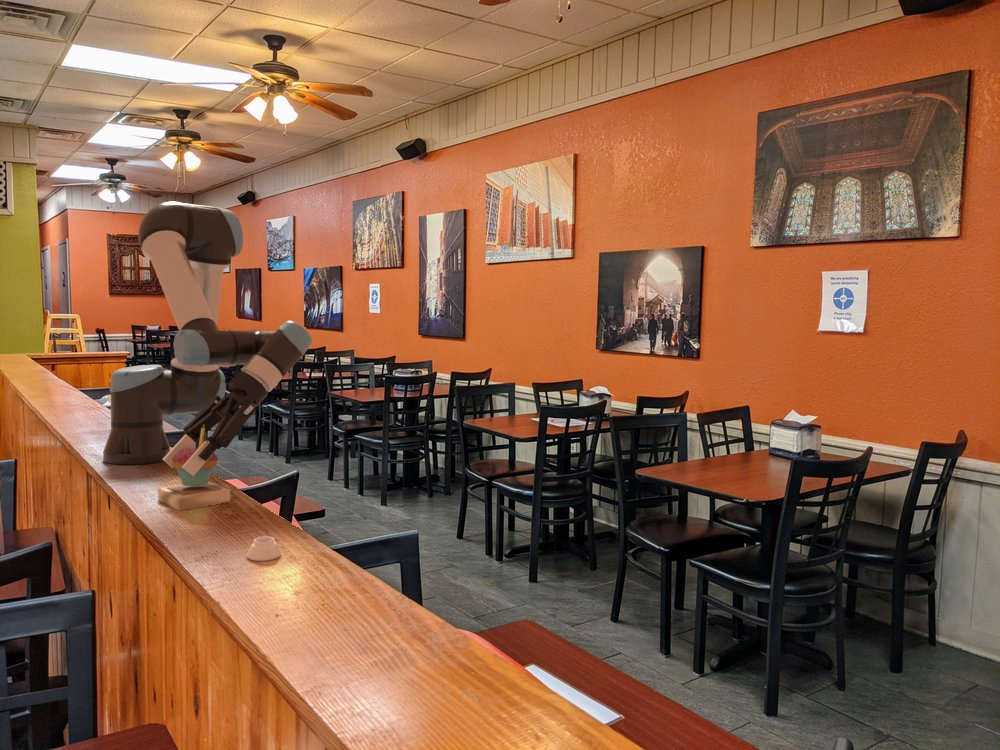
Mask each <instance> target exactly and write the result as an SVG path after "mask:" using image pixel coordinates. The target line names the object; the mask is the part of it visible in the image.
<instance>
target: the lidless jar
mask: <svg viewBox="0 0 1000 750" xmlns="http://www.w3.org/2000/svg"><path fill="white" fill-rule="evenodd" d="M281 555H282V551H281V549H280V547H279V545H278V543H277V542H276V541H275V538H274V537H272V536H268V535H267V536H258V537H256V538H253V543H251V544H250V547H249V549H248V551H247V552H246V558H247V559H249V560H251V561H256V562H267V561H272V560H276V559H277V558H280V556H281Z"/></svg>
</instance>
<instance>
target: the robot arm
mask: <svg viewBox="0 0 1000 750" xmlns="http://www.w3.org/2000/svg"><path fill="white" fill-rule="evenodd" d="M140 221H141V222H140V223H139V228H138V234H137V235H138V236H137V237H138V244H139V246H140V247H139V248H140V250H141V252H142V254H143V256H144V257H145V258H146V259H147V260H149V261H151V264H152V267H153V269H154V272H155V275H156V277H157V279H158V282H159V285H160V287H161V289H162V292H163V293H164V296H165V299H166V302H167V304H168V307H169V308H170V311H171V314H172V316H173V318H174V321H175V323H176V326H177V329H178V331H177V333H176V334H175V336H174V339H173V350H174V353H173V355H174V358H172V359H171V361H170V368H169V369H164V367H163V366H162V365H161V364H147V365H146V364H142V365H134V366H133V365H132V366H127V367H123V368H122V367H121V368H119V369H117V370H115V371H113V372H112V374H111V376H110V387H109V392H110V431H109V434H108V437H107V440H106V442H105V445H104V449H103V453H102V461H103V462H104V463H106V464H107V463H108V464H113V465H143V464H145V465H146V464H153V463H158V462H159V463H160V462H163V461H164V462H165V463H166V464H167V465H168V466H169V467H171V461H172V458H173V456H174V455H175V454H177V453H178V452H179V451H181V450H184V449H189V448H191V449H192V448H194V446H196V445H197V444H199V441H198V440H199V439H200V434H201V428H203V425H204V424H205V426H204V428H205V432H204V435H205V434H206V433H208V432H209V431H210V430H211V429H212V428H214V427H215V426H216V425H217V426H216V427H215V429H214V430H213V433H212V435H211V436H207V437H205V439H206V440H203V444H202V445H201V446H200V447H199V446H198V447H199V448H198V447H197V448H198V449H197V450H196V451H195V453H194V454H193V455H192V456H191V457H190V458H189V459H188V460H187V462H186V463H185V464H184V465H183V466H182V468H184V469H185V470H186V471H187V472H188V473H189V474H191V475H192V476H194V475H195V474H196V473H197V471H198V470H199V469H200V468H201V467H202V466H203V465H204V463H205V462H206V461H207V460H208V459H209V458H210V457H211V456H212V454H213V453H214V454H215V452H217V450H220V449H222V448H223V449H226V448H228V447H229V446H230V444H231V443H232V441H233V440H234V439H235V437H236V436H237V434H238V433H239V432H240V431H241V430H242V428H243V426H244V425H245V424H246V422H247V421H248V420H249V418H250V417H252V416H253V414H255V412H256V410H257V409H256V407H258V406H260V404H261V403H262V402H263V401H264V400H265V399H266V398H267V397H268V393H269V392H272V390H273V389H274V388H276V387H278V385H279V382H280V381H281V380H282V379H283V378H284V377H285V376H286V374H288V373H289V371H290V370H291V369H292V368H293V367H294V366H295V365H296V364H297V363H298V361H300V359H301V358H302V357H303V356H305V353H306V352H307V351H308V349H309V348H310V347H311V346H312V343H313V340H312V339H313V338H312V337H311V334H310V333H309V332H308V331H307V330H306V329H305V327H303V326H302V325H300V324H299V323H298V322H296V321H293V320H287V321H285V322H284V323H283V324H281V325H280V326H278V328H277V329H276V330H272V331H271V330H270V331H268V330H260V329H250V330H228V329H227V330H225V329H223V330H222V329H219V327H218V325H219V324H218V322H219V314H220V306H221V305H220V304H221V295H222V289H223V288H222V287H223V280H224V279H223V278H224V270H225V269H227V268H228V267H230V266H231V264H232V258H234V257H237V256H239V255H240V253H241V251H242V249H243V245H244V233H243V227H242V224H241V222H240V220H239V217H238V216H237V215H236V214H235V213H234V211H232V210H230V209H226V208H221V207H218V206H210V205H202V204H194V203H184V202H180V201H164V202H161V203H159V204H157V205H155V206H153V207H151V208H150V209H149V210H148V211H147V212H146V213H145V214H144V216H143V218H142V219H141V220H140ZM224 365H225V366H228V365H229V366H232V365H236V366H237V365H239V366H240V365H243V366H242V368H241V371H239V372H237V373H236V374H235V376H233V378H231V380H230V381H229V382H228V385H227V383H226V377H225V374H224V373H223V371H222V370H221V369H220V366H224ZM227 386H228V388H229V390H230V391H229V393H227V394H226V390H227ZM225 394H226V395H225ZM254 407H255V408H254ZM190 414H191V415H192V414H197V415H196V416H195V417H194V418H193V419H192V420H191V421H190V422H189V423H188V424H187V425H185V427H183V429H182V430H183V432H184V435H183V436H182V438H180V439H179V441H178V442H177V443H176V444H175V445H174V446H173V447H172V448H171V447H170V444H169V441H168V438H167V436H166V433H165V430H164V416H175V415H176V416H177V415H178V416H179V415H190ZM171 468H172V469H174V468H173V467H171Z"/></svg>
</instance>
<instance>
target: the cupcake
mask: <svg viewBox="0 0 1000 750" xmlns="http://www.w3.org/2000/svg"><path fill="white" fill-rule="evenodd" d="M204 426H205V424H204V425H203V428H201V434H200V438H199V441H198V447H192V449H191V448H189V449H184V450H181V451H179V452H178V453H177V454H175V455H174V456H173V458H172V461H171V466H170V468H172V467H173V468H172V469H176V471H177V473H178V476H179V478H180V481H181V485H185V486H200V485H205V484H207V483H208V481H209V480H210V477H211V474H212V473H213V469H214V468H215V467H217V464H218V461H219V457H218V456H217V455H216V454H215V452H214V453H213V454H212V456H211V457H210V458H209V459H208V460H207V461H206V462H205V463H204V465H203V466H202V467H201V468H200V469H199V470H198V471H197V473H196V474H195V475H194V476H192V475H191V474H189V473H188V472H187V471H186V470H185V469H184V468H182V466H183V465H184V464H185V463H186V462H187V460H188V459H189V458H190V457H191V456H192V455H193V454H194V453H195V451H196V450H197V449H198V448H199V447H200V446H201V445H202V444H203V443H204V437H205V434H204V432H205V428H204ZM209 482H210V481H209Z"/></svg>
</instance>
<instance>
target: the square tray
mask: <svg viewBox="0 0 1000 750" xmlns="http://www.w3.org/2000/svg"><path fill="white" fill-rule="evenodd" d="M157 491H158V493H157V495H158V497H157V500H158V501H159V502H160V503H163V504H165V505H167V506H169V507H171V508H173V509H176V510H178V511H179V512H181V510H182V511H187V510H186V509H188V510H191V509H192V508H193V509H199V508H204V506H205V507H209V506H208V505H211V506H217V505H222V504H221V503H223V504H227V503H226V502H229V503H231V489H230V488H229V489H228V488H227V487H224V486H221V485H219V484H217V483H214V482H211V481H208V483H207V484H205V485H200V486H185V485H183V484H178V485H171V486H170V485H169V486H165V487H164V486H163V487H158V488H157ZM216 504H217V505H216ZM198 507H199V508H198ZM193 509H192V510H193Z"/></svg>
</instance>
